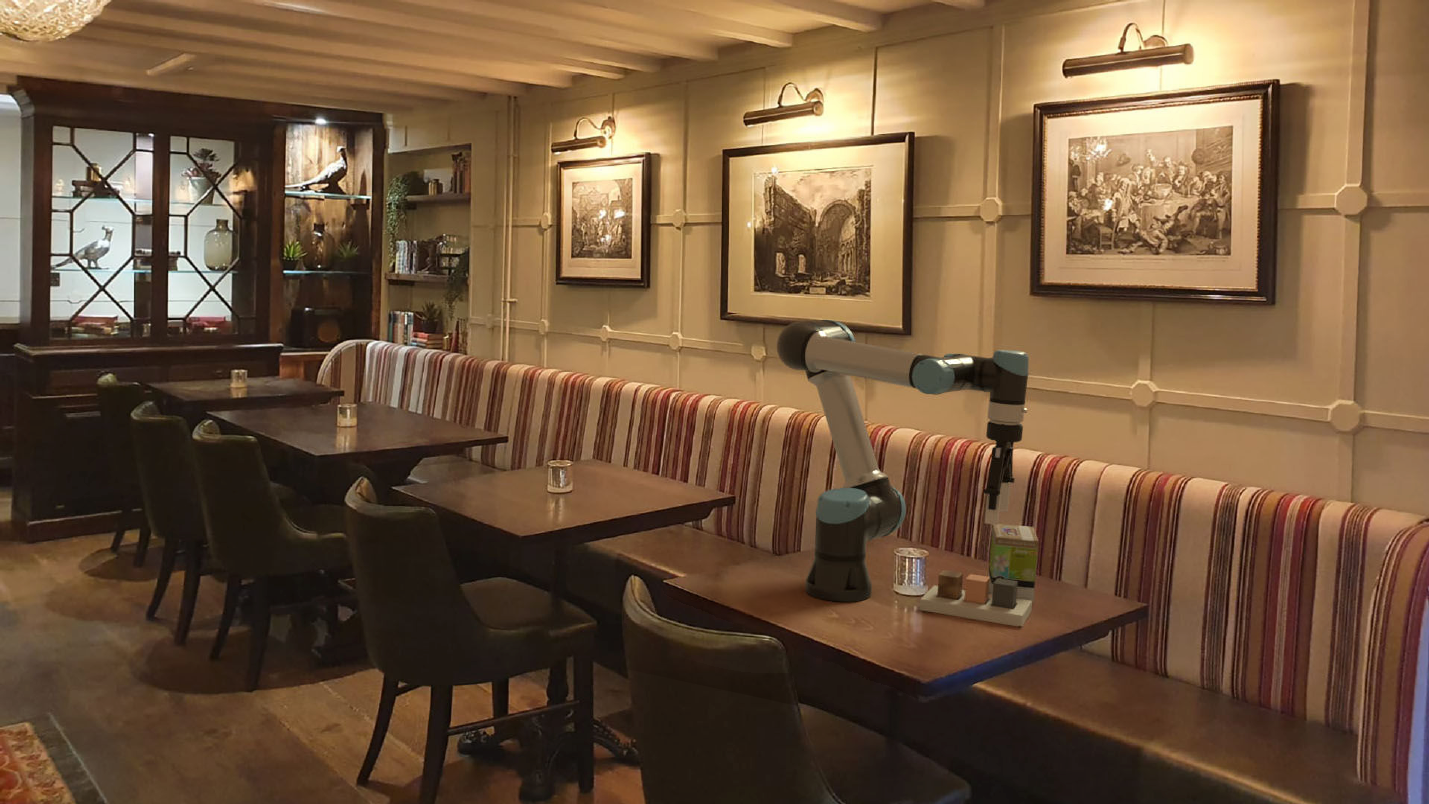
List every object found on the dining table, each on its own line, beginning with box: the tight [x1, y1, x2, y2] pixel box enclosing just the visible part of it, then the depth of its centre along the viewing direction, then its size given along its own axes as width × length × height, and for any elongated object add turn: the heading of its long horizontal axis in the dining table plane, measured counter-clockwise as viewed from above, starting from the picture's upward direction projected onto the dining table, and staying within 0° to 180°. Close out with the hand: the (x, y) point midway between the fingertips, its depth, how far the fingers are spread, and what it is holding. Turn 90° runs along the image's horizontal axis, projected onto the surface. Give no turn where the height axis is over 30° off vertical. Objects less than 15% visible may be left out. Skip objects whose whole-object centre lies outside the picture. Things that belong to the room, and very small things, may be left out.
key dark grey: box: [992, 578, 1018, 609], centre depth 242 cm, size 4×4×5 cm
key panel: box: [919, 584, 1033, 628], centre depth 245 cm, size 22×12×2 cm, turn 65°
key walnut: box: [937, 569, 964, 600], centre depth 247 cm, size 4×4×5 cm
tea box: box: [987, 523, 1040, 603], centre depth 259 cm, size 15×10×15 cm
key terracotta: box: [964, 574, 990, 604], centre depth 244 cm, size 4×4×5 cm
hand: (996, 517), depth 243 cm, fingers open, 13 cm apart
